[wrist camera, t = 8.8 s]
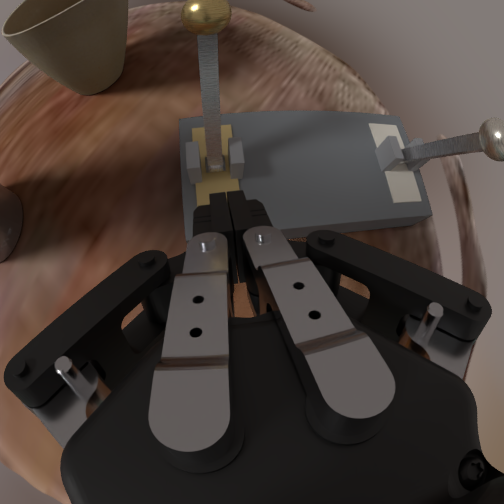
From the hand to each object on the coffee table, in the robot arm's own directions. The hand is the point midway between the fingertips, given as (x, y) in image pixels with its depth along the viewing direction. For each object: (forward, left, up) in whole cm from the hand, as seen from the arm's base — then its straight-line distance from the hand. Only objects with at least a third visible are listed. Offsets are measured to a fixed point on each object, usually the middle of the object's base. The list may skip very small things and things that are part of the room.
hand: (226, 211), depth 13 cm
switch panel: (+1, +12, -15) cm, 19 cm away
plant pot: (-30, +9, -15) cm, 35 cm away
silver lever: (+7, +18, -10) cm, 22 cm away
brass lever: (-5, +5, -10) cm, 12 cm away
